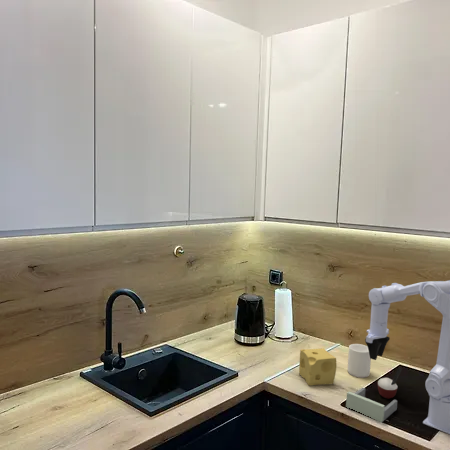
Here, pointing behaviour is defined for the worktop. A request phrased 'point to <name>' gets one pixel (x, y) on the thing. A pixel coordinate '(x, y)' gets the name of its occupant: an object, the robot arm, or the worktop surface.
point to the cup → (359, 360)
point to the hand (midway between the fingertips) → (376, 357)
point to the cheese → (317, 366)
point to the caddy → (369, 406)
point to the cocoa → (388, 386)
